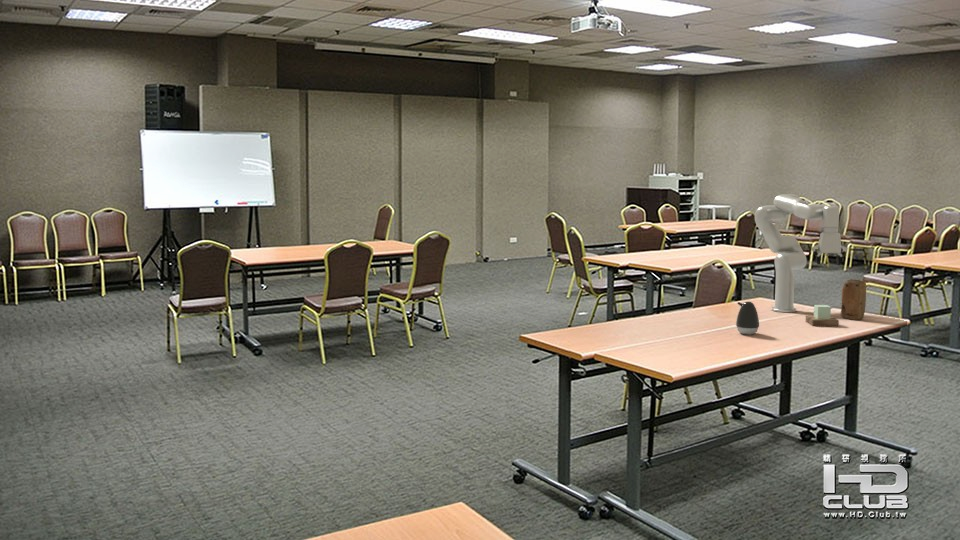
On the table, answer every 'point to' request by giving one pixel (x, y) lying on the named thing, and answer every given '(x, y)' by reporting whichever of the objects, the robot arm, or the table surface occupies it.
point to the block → (853, 299)
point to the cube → (822, 311)
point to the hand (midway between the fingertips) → (828, 264)
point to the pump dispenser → (747, 319)
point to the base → (822, 321)
